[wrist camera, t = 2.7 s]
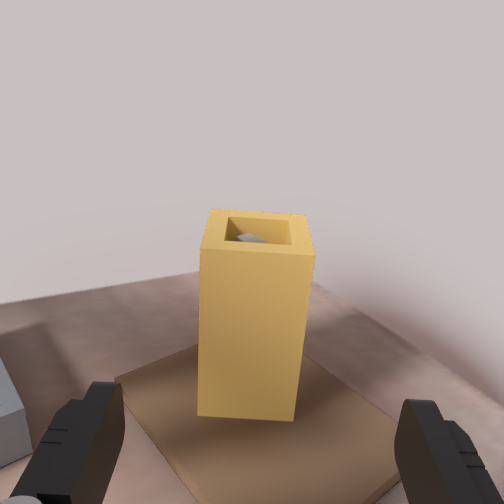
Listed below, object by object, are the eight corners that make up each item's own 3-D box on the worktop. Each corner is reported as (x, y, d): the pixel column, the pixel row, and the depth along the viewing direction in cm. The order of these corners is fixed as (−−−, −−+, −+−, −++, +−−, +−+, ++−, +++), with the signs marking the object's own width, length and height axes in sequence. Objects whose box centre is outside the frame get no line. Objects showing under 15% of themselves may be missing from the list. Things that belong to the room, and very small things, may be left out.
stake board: (115, 391, 28) (102, 232, 23) (256, 331, 34) (267, 198, 30) (267, 595, 18) (294, 392, 14) (424, 459, 25) (476, 290, 20)
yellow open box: (293, 421, 25) (315, 255, 21) (197, 415, 25) (199, 248, 21) (286, 345, 31) (303, 205, 27) (210, 340, 31) (214, 199, 27)
